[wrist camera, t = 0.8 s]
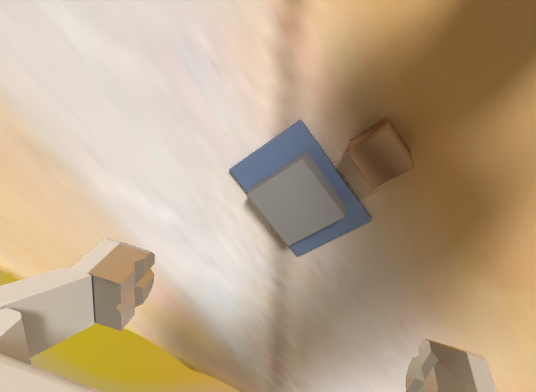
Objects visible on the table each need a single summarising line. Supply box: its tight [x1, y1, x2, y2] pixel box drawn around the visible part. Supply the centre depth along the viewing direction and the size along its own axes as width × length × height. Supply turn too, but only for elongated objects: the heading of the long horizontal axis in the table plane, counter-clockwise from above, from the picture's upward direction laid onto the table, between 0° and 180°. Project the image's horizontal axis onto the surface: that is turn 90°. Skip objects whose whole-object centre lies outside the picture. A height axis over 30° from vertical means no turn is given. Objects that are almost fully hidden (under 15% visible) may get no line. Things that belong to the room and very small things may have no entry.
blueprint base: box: [229, 120, 371, 256], centre depth 48 cm, size 12×16×4 cm
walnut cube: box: [348, 117, 414, 189], centre depth 42 cm, size 5×5×5 cm
